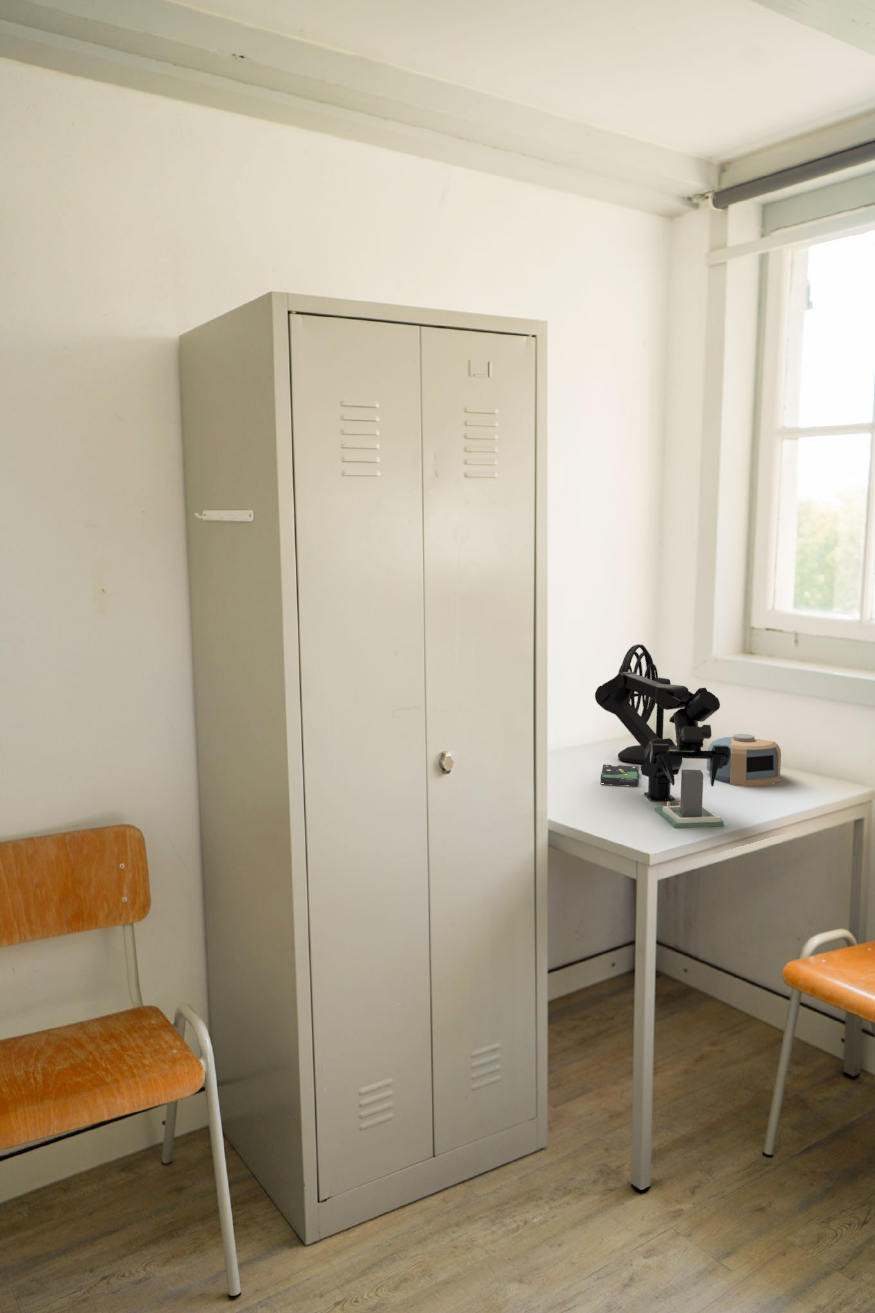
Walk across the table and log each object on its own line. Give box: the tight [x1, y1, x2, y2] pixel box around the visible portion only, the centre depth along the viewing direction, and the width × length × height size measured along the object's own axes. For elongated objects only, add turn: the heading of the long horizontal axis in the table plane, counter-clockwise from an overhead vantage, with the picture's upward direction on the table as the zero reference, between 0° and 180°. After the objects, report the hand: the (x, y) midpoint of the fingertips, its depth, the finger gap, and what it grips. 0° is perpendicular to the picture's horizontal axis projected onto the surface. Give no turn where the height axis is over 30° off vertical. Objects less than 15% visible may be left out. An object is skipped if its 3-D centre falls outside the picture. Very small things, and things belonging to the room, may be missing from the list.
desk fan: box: [617, 644, 672, 764], centre depth 293 cm, size 27×18×35 cm, turn 152°
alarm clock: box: [706, 733, 782, 787], centre depth 271 cm, size 19×20×12 cm
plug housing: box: [680, 768, 704, 818], centre depth 231 cm, size 4×4×11 cm
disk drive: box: [600, 764, 640, 787], centre depth 270 cm, size 10×3×15 cm
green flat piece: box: [654, 800, 725, 829], centre depth 233 cm, size 14×12×2 cm
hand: (693, 785), depth 229 cm, fingers open, 9 cm apart
